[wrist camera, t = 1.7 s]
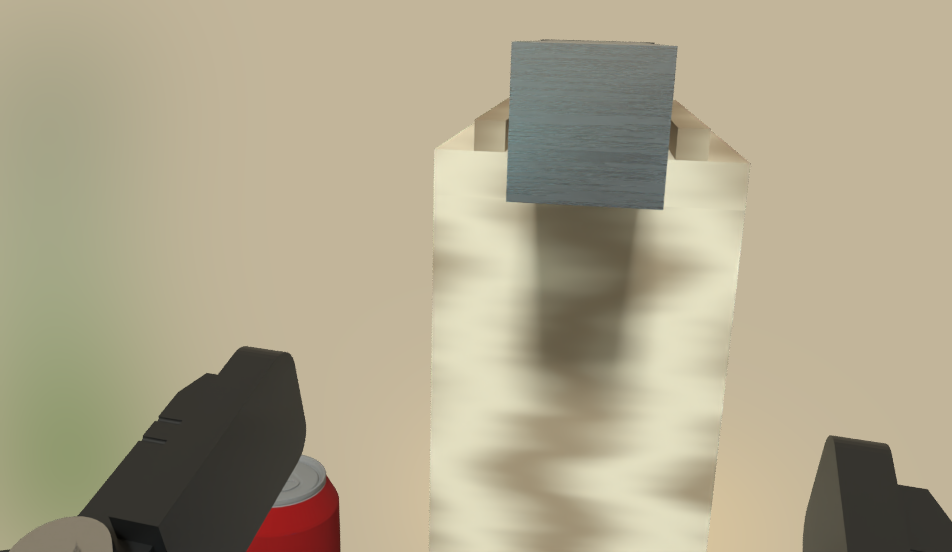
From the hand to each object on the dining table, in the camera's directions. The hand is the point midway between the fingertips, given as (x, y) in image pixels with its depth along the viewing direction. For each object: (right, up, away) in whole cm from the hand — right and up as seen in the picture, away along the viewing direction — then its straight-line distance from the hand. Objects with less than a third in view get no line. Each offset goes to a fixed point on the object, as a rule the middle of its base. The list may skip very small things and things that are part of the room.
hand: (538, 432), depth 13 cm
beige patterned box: (+3, -23, +29) cm, 37 cm away
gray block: (+3, +7, +17) cm, 18 cm away
